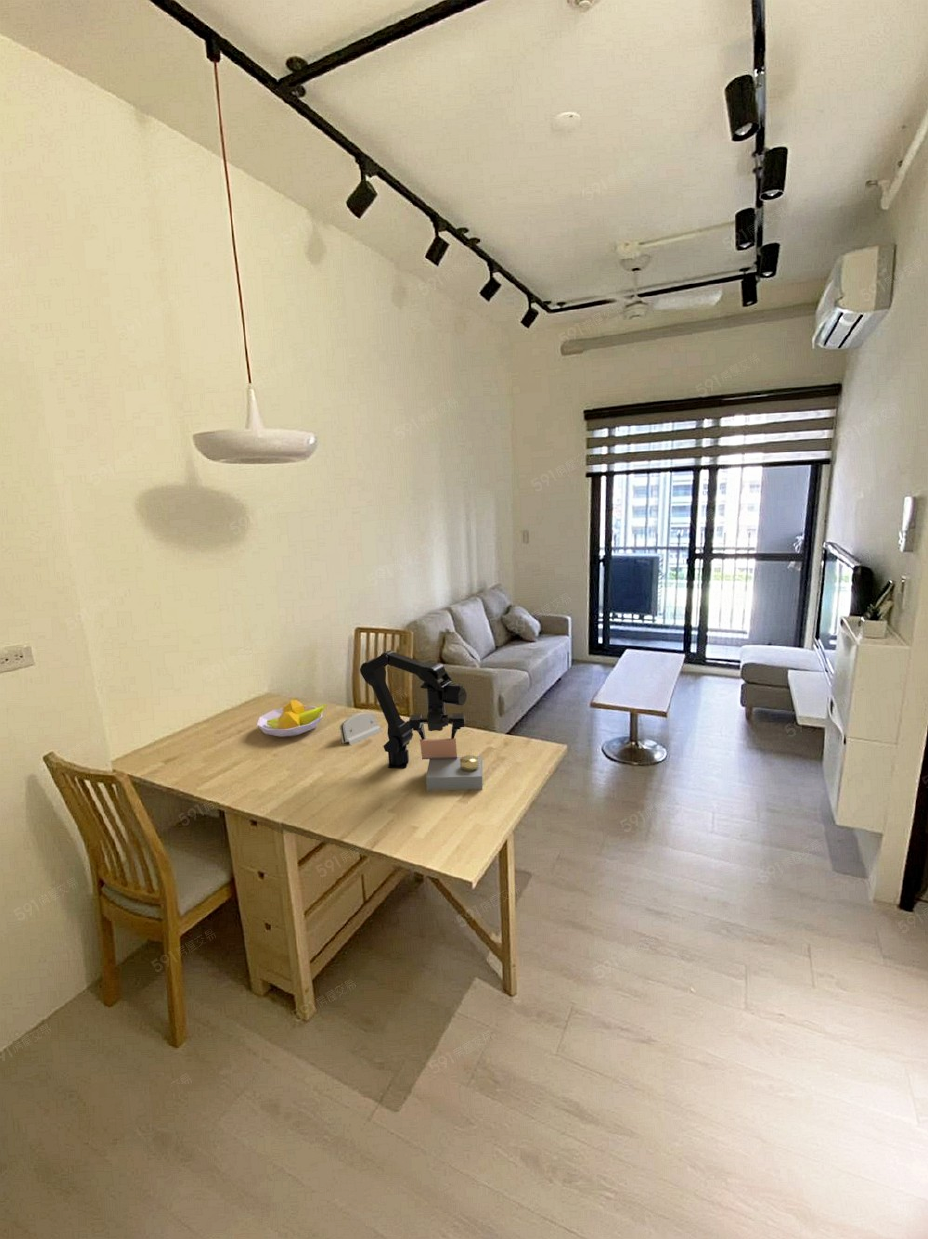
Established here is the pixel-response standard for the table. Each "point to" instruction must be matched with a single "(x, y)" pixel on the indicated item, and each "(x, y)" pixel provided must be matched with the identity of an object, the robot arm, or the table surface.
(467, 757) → the tan shiny rounded piece
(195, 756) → the table surface
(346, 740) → the hinge
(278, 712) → the fruit bowl
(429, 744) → the latch flap
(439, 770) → the hitch block
